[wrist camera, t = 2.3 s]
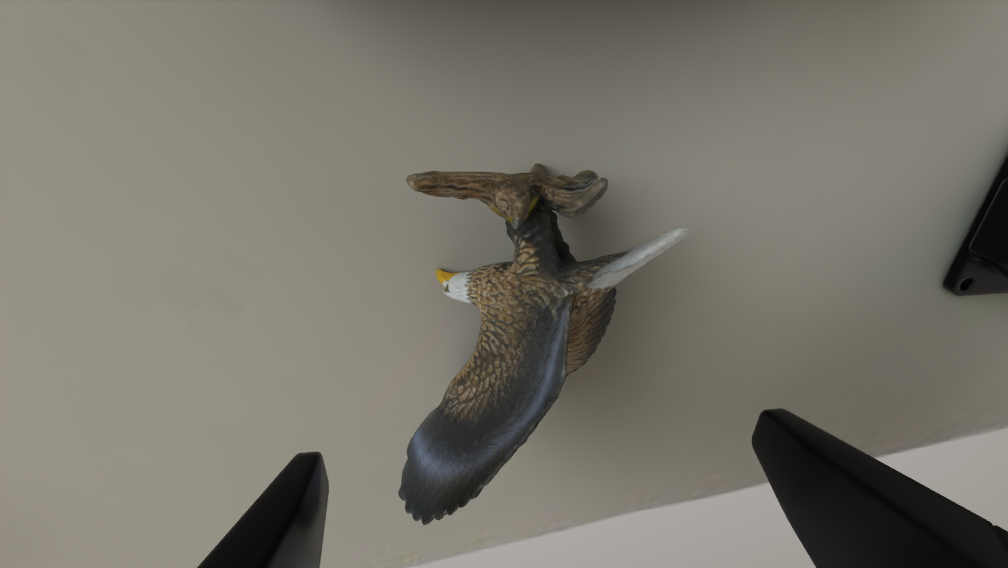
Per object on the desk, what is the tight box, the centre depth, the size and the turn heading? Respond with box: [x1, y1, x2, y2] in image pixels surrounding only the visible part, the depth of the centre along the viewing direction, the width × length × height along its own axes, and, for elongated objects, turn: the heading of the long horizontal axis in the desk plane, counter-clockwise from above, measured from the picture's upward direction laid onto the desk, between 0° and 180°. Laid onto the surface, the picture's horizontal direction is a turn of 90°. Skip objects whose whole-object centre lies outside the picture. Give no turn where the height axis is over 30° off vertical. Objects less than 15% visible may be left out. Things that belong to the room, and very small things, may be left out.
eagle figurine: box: [398, 164, 692, 525], centre depth 13 cm, size 8×7×9 cm
